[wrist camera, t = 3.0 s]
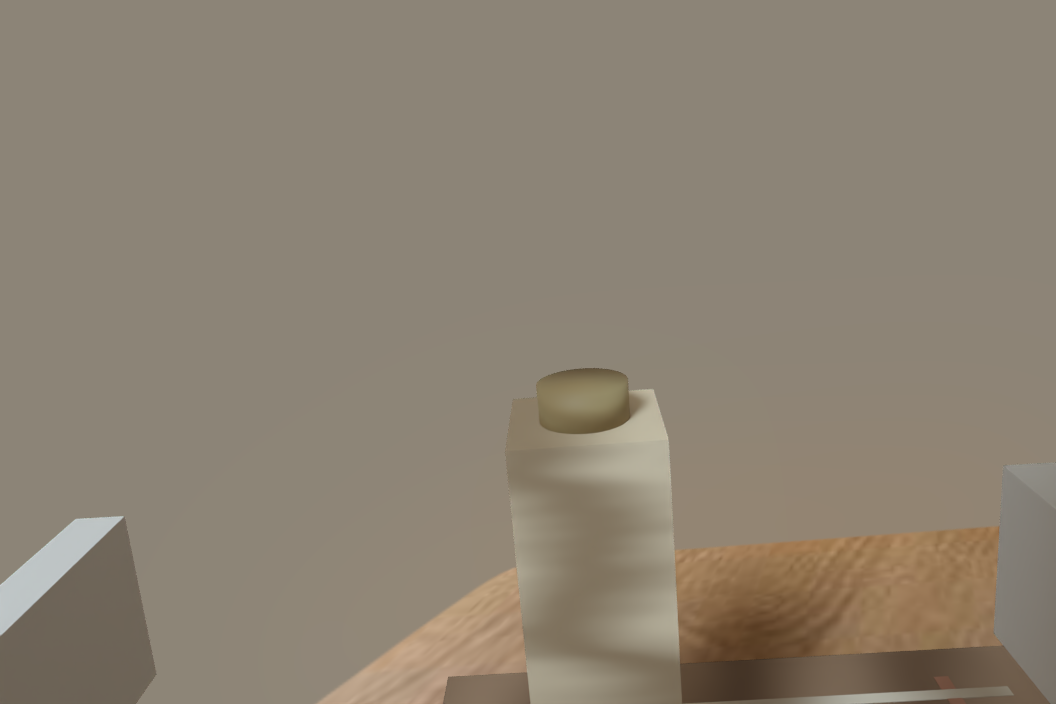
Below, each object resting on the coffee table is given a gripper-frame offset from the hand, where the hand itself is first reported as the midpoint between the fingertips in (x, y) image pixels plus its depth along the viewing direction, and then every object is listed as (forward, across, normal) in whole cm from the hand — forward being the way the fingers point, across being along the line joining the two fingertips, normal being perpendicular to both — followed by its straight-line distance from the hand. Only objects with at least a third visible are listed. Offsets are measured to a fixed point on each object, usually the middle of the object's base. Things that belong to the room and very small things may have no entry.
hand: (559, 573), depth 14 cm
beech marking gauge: (+11, +1, -14) cm, 18 cm away
